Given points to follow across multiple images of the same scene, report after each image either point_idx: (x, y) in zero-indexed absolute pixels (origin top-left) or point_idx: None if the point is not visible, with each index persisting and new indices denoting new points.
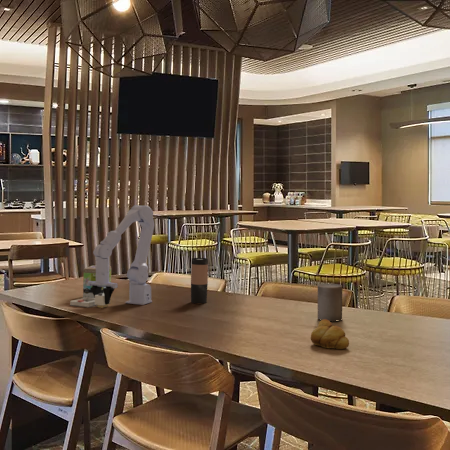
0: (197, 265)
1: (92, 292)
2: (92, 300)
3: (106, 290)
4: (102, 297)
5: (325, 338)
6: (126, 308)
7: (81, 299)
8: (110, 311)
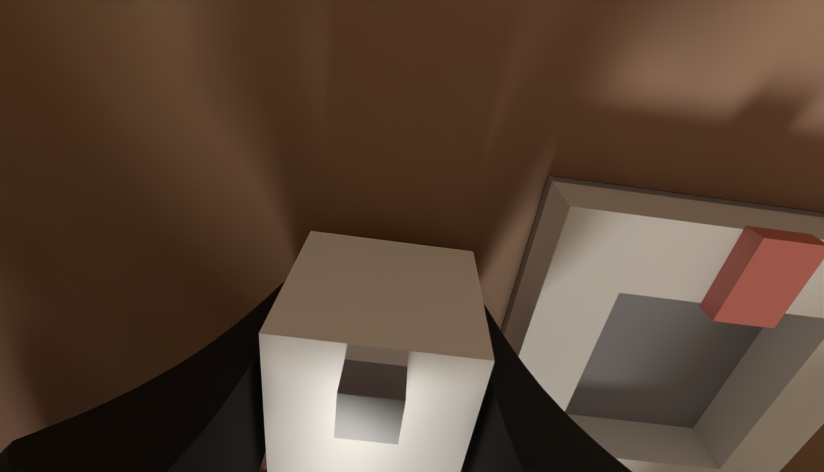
0: None
1: (590, 439)
2: (620, 440)
3: (30, 450)
4: (283, 313)
5: None
6: (44, 290)
7: (779, 400)
8: (34, 19)
